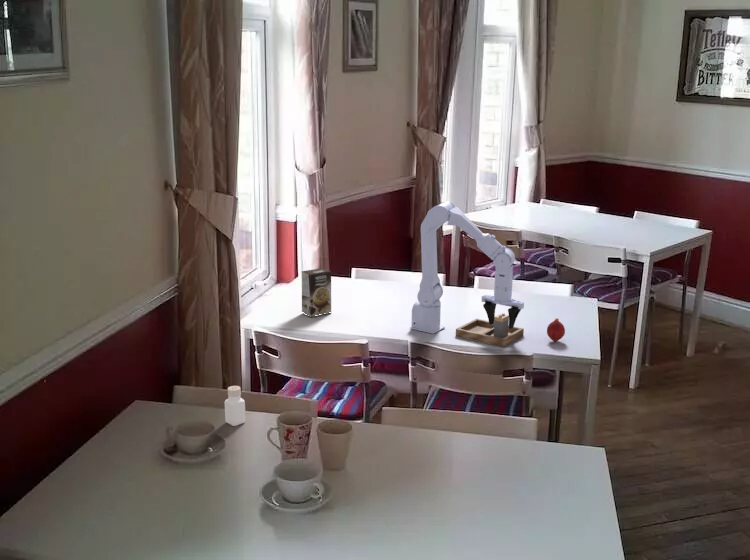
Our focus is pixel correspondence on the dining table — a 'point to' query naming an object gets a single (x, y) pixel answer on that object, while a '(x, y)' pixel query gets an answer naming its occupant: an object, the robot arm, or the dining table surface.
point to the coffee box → (316, 291)
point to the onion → (555, 330)
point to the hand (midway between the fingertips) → (501, 325)
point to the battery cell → (501, 325)
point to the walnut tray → (487, 333)
